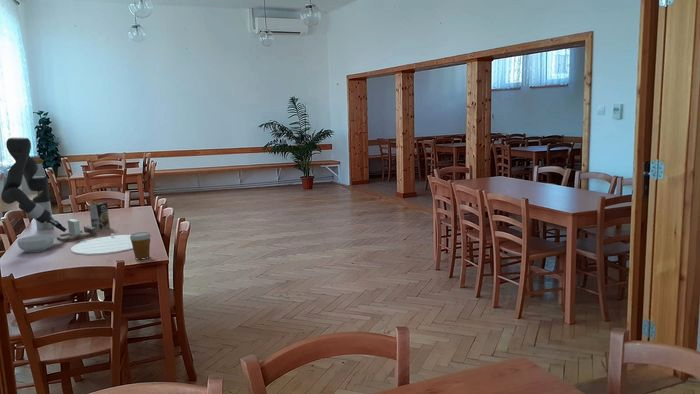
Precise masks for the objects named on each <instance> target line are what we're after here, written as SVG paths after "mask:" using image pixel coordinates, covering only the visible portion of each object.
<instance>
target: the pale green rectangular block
mask: <svg viewBox="0 0 700 394" xmlns="http://www.w3.org/2000/svg"><path fill="white" fill-rule="evenodd" d="M66 222H67V229H68V233H69V234H70V235H73V236H74V235H79V234H81V233H80V231H81V227H80V220H78V219H74V218H70V219H67V221H66Z"/></svg>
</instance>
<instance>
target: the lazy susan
mask: <svg viewBox="0 0 700 394" xmlns="http://www.w3.org/2000/svg"><path fill="white" fill-rule="evenodd" d="M130 235H131V234H122V235H121V234H120V235H119V234H117V235H115V233H112V232H111V233H110V236H103V237H97V238H92V239H89V240H81V241H79V242H78V243H76V244H74V245H73V246H72V247H71V248H70V252H71V253H72V254H75V255H80V256H101V255H109V254H117V252H118V253H122V252H121V251H124V252H126V251H125V250H128V251H131V250H130V249H132V250H133V246H132V242H131V240H130Z"/></svg>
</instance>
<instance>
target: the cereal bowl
mask: <svg viewBox="0 0 700 394" xmlns="http://www.w3.org/2000/svg"><path fill="white" fill-rule="evenodd" d="M16 242H17V246H18V248H19V249H20V250H22V251H24V252H28V253H31V254H32V253H39V252H41V253H42V252H45V251H46V250H47V249H49V248H50V247H51V246H53V244H54V242H55V236H54V235H53V234H35V235H31V236H25V237H21V238H19V239H17V241H16Z"/></svg>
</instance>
